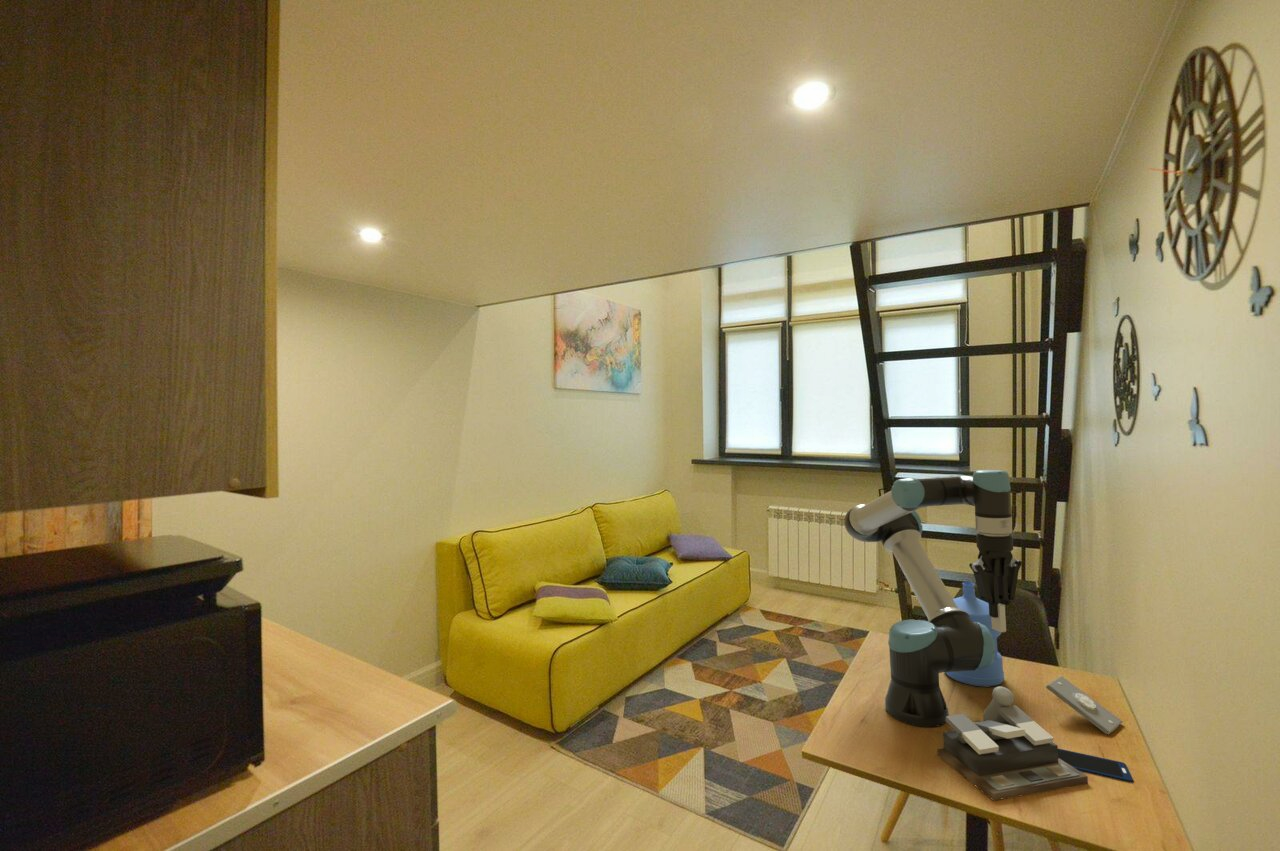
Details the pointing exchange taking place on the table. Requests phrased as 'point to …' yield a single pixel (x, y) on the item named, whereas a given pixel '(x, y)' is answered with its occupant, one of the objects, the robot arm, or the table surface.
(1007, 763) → the switch console
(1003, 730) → the middle rocker
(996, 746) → the left rocker
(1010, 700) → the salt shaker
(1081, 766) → the cell phone
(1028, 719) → the right rocker
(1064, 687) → the light switch
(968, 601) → the water jug
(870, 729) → the table surface
